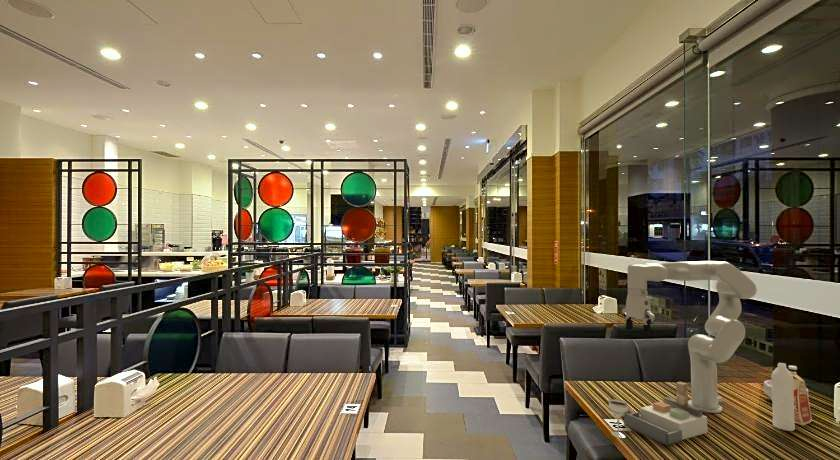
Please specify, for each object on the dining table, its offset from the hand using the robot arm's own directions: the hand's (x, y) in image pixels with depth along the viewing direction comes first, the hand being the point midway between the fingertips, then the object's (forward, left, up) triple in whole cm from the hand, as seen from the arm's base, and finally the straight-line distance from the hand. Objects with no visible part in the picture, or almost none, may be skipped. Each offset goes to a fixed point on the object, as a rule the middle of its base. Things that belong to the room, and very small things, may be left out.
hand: (637, 331), depth 181 cm
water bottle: (-35, +37, -34) cm, 61 cm away
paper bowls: (-67, +22, -34) cm, 78 cm away
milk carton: (-49, +33, -34) cm, 68 cm away
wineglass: (+30, +15, -34) cm, 47 cm away
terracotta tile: (+7, +15, -27) cm, 32 cm away
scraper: (0, +19, -27) cm, 33 cm away
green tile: (+7, +22, -27) cm, 36 cm away
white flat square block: (+5, +19, -33) cm, 39 cm away
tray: (+17, +19, -33) cm, 42 cm away
